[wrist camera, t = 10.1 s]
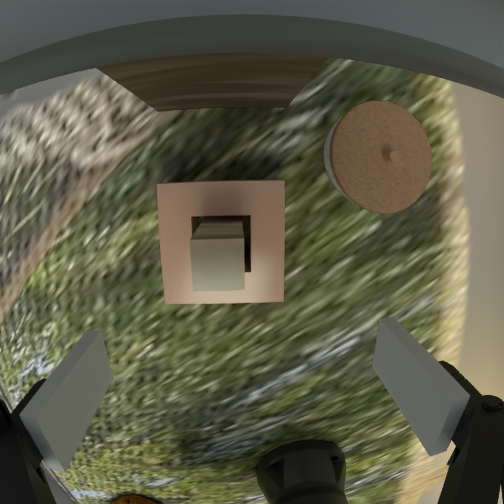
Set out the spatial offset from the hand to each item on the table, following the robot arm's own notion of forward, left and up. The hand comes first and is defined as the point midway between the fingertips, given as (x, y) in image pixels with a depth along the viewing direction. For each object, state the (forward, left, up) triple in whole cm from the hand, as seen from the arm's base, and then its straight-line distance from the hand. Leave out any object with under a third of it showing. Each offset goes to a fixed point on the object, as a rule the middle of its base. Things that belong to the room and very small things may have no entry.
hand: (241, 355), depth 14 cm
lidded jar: (+10, -14, -23) cm, 28 cm away
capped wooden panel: (+13, +2, -23) cm, 26 cm away
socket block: (+1, +2, -23) cm, 23 cm away
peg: (+1, +1, -23) cm, 23 cm away
